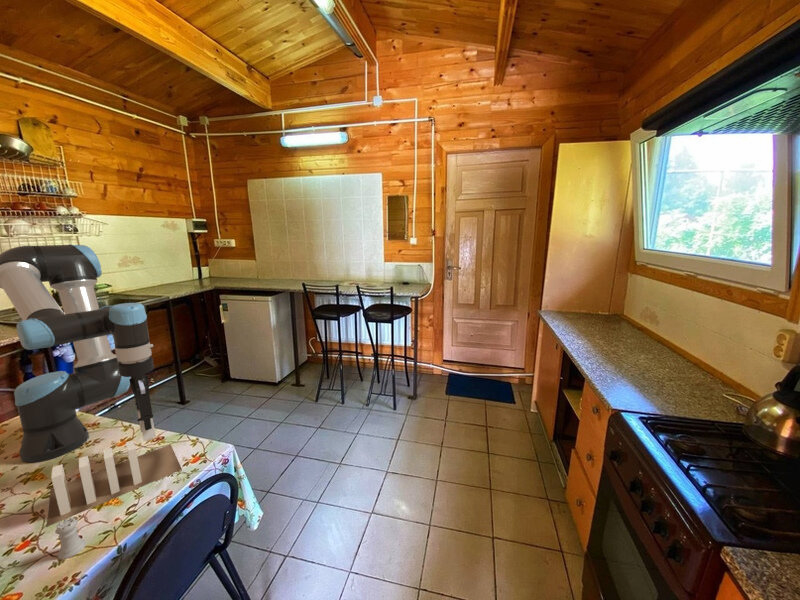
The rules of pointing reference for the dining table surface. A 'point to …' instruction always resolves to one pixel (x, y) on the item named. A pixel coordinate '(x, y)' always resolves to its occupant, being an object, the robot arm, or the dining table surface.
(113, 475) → the domino
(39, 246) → the robot arm
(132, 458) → the domino
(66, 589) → the dining table surface
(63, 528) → the rook chess piece
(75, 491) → the walnut board
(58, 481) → the domino
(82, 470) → the domino
